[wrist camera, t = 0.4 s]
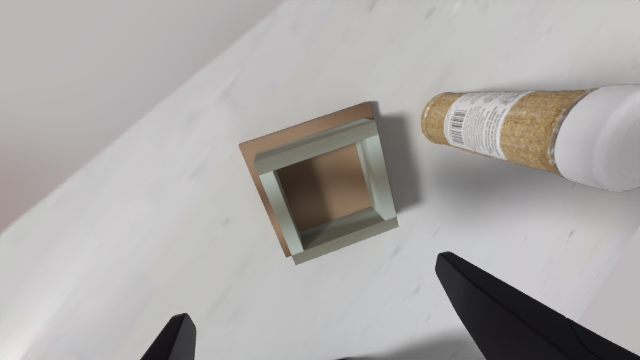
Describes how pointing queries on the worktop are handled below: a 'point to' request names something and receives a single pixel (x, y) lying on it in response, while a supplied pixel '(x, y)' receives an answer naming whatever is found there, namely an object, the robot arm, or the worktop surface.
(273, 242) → the worktop surface
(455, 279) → the robot arm
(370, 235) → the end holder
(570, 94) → the sprinkles bottle
